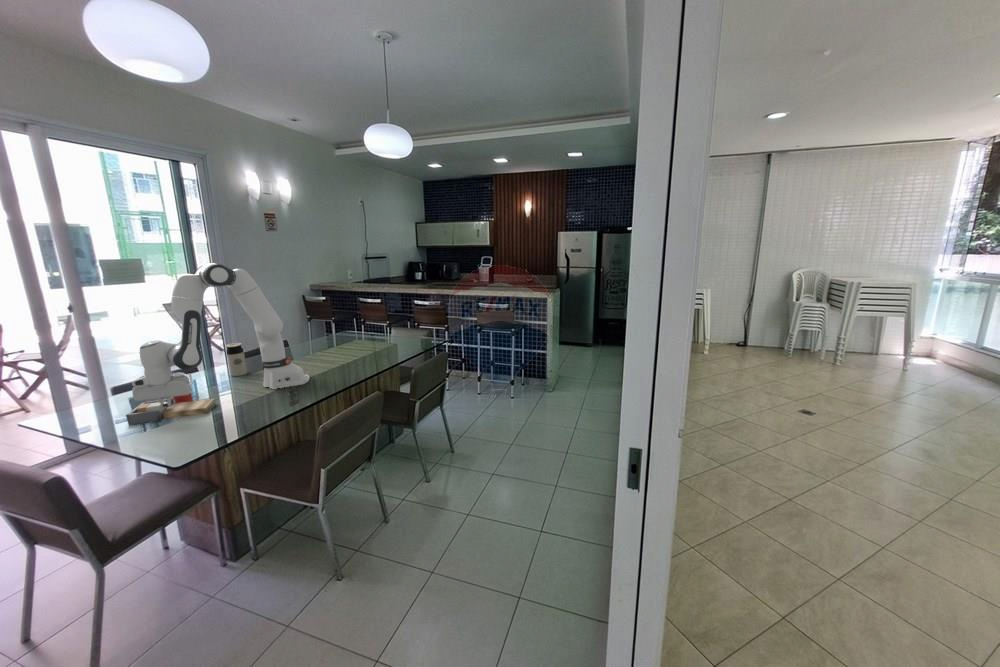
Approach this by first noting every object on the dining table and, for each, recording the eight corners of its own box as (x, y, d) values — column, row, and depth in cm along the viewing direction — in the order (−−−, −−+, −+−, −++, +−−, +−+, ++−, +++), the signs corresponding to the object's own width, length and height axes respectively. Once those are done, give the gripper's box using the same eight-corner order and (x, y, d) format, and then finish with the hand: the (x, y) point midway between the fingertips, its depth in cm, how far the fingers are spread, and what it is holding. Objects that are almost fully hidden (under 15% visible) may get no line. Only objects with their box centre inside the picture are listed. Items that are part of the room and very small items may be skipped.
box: (175, 408, 180) (173, 398, 178) (160, 421, 167) (157, 410, 165) (146, 411, 176) (143, 401, 175) (128, 425, 163) (125, 415, 162)
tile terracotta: (151, 402, 172) (143, 404, 171) (145, 407, 168) (136, 408, 167) (154, 412, 173) (146, 414, 173) (148, 417, 169) (140, 419, 168)
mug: (172, 401, 188) (167, 379, 185) (162, 398, 191) (157, 377, 188) (199, 392, 198) (195, 371, 195) (189, 389, 202) (184, 369, 199)
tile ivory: (166, 407, 174) (164, 401, 174) (161, 411, 170) (159, 405, 169) (153, 409, 173) (151, 403, 172) (147, 414, 168) (145, 407, 168)
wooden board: (215, 404, 183) (214, 398, 182) (206, 413, 173) (205, 407, 172) (175, 409, 178) (174, 403, 178) (164, 419, 168) (162, 413, 167)
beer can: (196, 401, 187) (190, 378, 184) (181, 407, 181) (175, 383, 178) (187, 399, 189) (181, 377, 186) (172, 405, 183) (166, 382, 180)
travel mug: (232, 373, 225) (226, 343, 221) (248, 370, 229) (243, 342, 224) (230, 377, 218) (223, 347, 214) (246, 375, 222) (240, 345, 217)
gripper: (190, 372, 175) (197, 400, 178) (135, 378, 168) (143, 406, 172) (184, 376, 169) (191, 405, 172) (126, 383, 163) (135, 412, 166)
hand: (166, 406), depth 172 cm, fingers closed
